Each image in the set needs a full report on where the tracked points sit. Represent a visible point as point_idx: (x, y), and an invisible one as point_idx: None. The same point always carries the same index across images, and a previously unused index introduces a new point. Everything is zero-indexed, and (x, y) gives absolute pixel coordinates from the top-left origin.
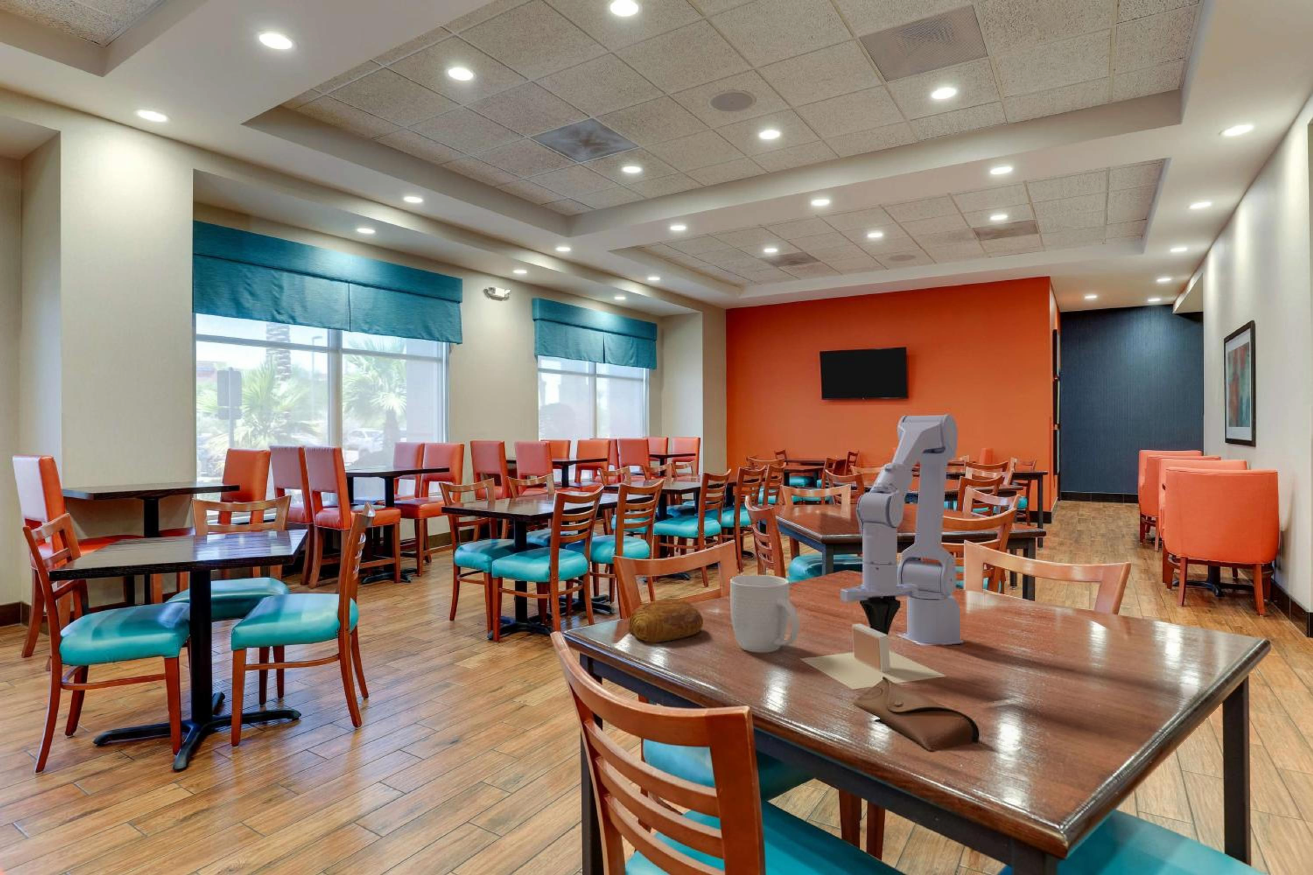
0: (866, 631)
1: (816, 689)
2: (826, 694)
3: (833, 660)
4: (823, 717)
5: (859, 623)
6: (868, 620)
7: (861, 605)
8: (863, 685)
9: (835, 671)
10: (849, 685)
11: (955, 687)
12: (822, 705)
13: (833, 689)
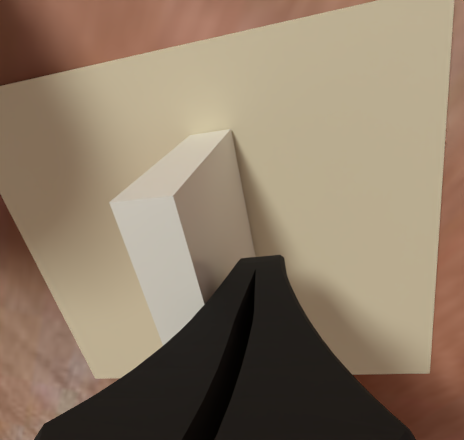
0: (162, 335)
1: (13, 331)
2: (35, 360)
3: (91, 148)
4: (17, 435)
5: (172, 195)
6: (190, 321)
7: (81, 409)
8: (130, 366)
9: (75, 259)
10: (93, 358)
11: (399, 406)
12: (20, 399)
13: (56, 340)
